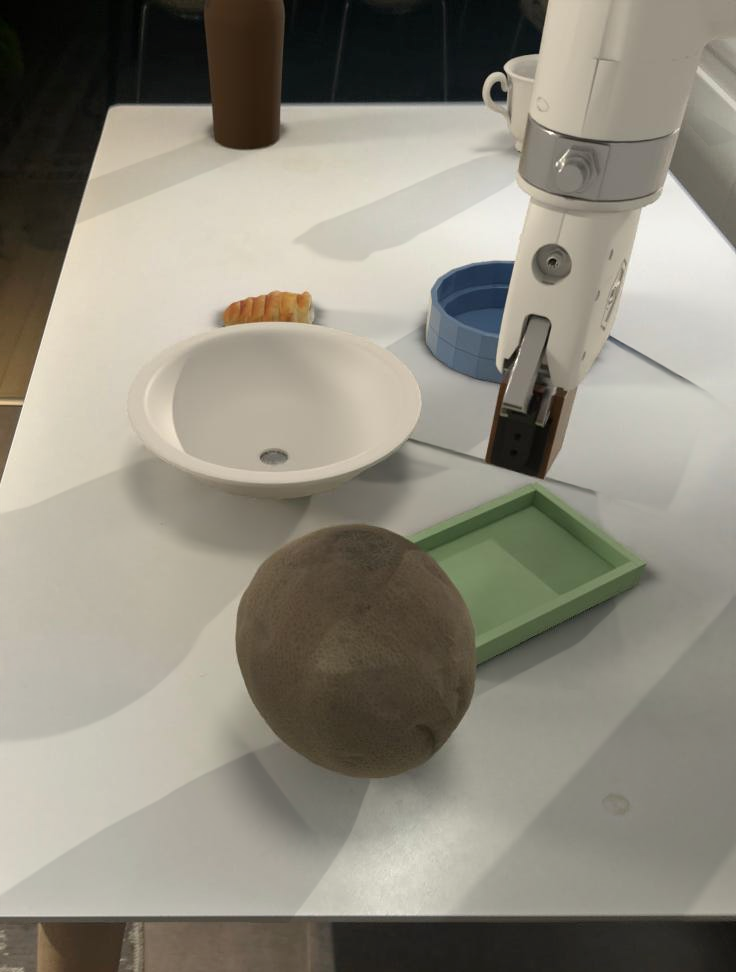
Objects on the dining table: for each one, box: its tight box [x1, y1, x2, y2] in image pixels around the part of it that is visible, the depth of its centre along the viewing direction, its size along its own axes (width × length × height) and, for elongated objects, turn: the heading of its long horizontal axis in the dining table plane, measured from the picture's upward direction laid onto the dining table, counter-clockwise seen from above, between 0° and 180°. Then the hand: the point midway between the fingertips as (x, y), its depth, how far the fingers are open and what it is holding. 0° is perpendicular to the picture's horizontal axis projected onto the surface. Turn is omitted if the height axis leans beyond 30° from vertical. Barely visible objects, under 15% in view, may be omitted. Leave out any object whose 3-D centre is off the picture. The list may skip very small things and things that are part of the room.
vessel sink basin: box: [126, 322, 423, 500], centre depth 80 cm, size 24×24×7 cm
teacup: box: [482, 53, 539, 153], centre depth 128 cm, size 12×15×10 cm
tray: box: [405, 481, 647, 666], centre depth 71 cm, size 18×12×2 cm, turn 121°
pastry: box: [221, 290, 315, 327], centre depth 97 cm, size 9×7×4 cm
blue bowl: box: [424, 259, 515, 384], centre depth 94 cm, size 16×16×5 cm
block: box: [484, 363, 579, 480], centre depth 61 cm, size 4×4×6 cm
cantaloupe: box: [234, 523, 477, 780], centre depth 56 cm, size 14×14×15 cm
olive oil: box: [203, 0, 286, 150], centre depth 127 cm, size 11×11×25 cm
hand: (526, 446), depth 63 cm, fingers closed on block, 4 cm apart
